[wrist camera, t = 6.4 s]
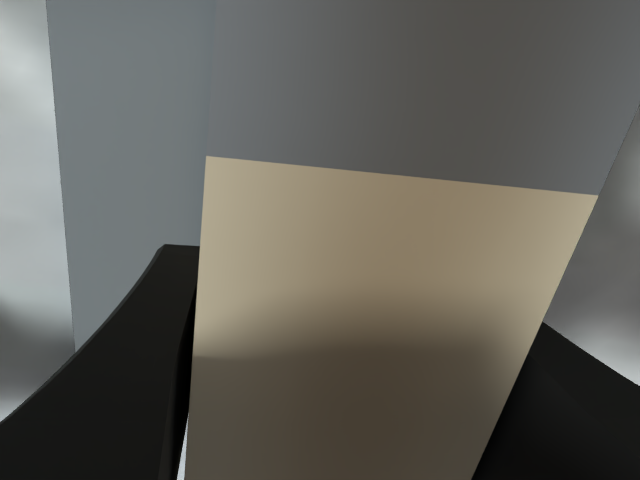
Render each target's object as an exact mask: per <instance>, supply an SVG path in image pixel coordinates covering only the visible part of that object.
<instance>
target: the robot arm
mask: <svg viewBox="0 0 640 480" xmlns="http://www.w3.org/2000/svg"><path fill="white" fill-rule="evenodd" d="M199 254H200V246H190V245H174V244H164V245H163V246H161V247H160V248H159V249H157V251H156V253H155V255H154V257H153V258H152V260H151V262H150V263H149V265H148V266H147V268H146V269H145V271H144V272H143V274H142V275H141V276H140V278H139V279H138V280H137V282H136V283H135V284H134V286H133V287H132V289H131V290H130V291H129V292H128V294H127V295H126V296H125V297H124V298H123V300H122V301H121V302H120V303H119V305H118V306H117V307H116V308H115V309H114V311H113V312H112V313H111V314H110V316H109V317H108V318H107V319H106V320H105V321H104V323H103V324H102V325H101V326H100V327H99V328H98V329H97V330H96V331H95V332H94V333H93V335H92V336H91V337H90V338H89V339H88V340H87V341H86V342H85V343H84V344H83V345H82V346H81V347H80V348H79V349H78V351H77V352H76V353H75V354H74V355H73V356H72V357H71V358H70V359H69V360H68V361H67V362H66V363H65V364H64V365H63V366H62V367H61V368H60V369H59V370H58V371H57V372H56V373H55V374H54V375H53V376H52V377H51V378H50V379H49V380H47V381H46V382H45V383H44V384H43V385H42V386H41V387H40V388H39V389H38V390H37V391H36V392H34V393H33V394H32V395H31V396H30V397H29V398H28V399H27V400H25V401H24V402H23V403H22V404H21V405H20V406H19V407H18V408H17V409H15V410H14V411H13V412H12V413H11V414H10V415H8V416H7V417H6V418H5V419H4V420H2V421H1V422H0V480H177V475H178V469H179V464H180V458H181V452H182V447H183V441H184V435H185V430H186V424H187V418H188V412H189V403H190V388H191V373H192V358H193V343H194V328H195V314H196V299H197V284H198V269H199ZM471 480H640V386H638V385H637V384H635V383H633V382H632V381H630V380H629V379H627V378H625V377H624V376H622V375H620V374H619V373H617V372H616V371H614V370H613V369H611V368H610V367H608V366H607V365H605V364H604V363H602V362H601V361H599V360H598V359H596V358H594V357H593V356H591V355H590V354H588V353H587V352H585V351H584V350H582V349H581V348H579V347H578V346H577V345H575V344H574V343H572V342H571V341H569V340H568V339H566V338H565V337H564V336H562V335H561V334H559V333H558V332H556V331H555V330H554V329H552V328H551V327H549V326H548V325H547V324H545V323H544V322H542V323H541V325H540V327H539V329H538V332H537V334H536V336H535V338H534V341H533V343H532V345H531V347H530V349H529V352H528V354H527V356H526V358H525V361H524V363H523V365H522V367H521V369H520V372H519V374H518V376H517V378H516V381H515V383H514V385H513V387H512V389H511V392H510V394H509V396H508V398H507V401H506V403H505V405H504V407H503V409H502V412H501V414H500V416H499V418H498V421H497V423H496V425H495V427H494V430H493V432H492V434H491V436H490V438H489V441H488V443H487V445H486V447H485V450H484V452H483V454H482V456H481V458H480V461H479V463H478V465H477V467H476V470H475V472H474V474H473V476H472V478H471Z"/></svg>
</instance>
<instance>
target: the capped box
mask: <svg viewBox="0 0 640 480" xmlns="http://www.w3.org/2000/svg"><path fill="white" fill-rule="evenodd" d="M639 105H640V0H217V2H216V17H215V32H214V46H213V61H212V76H211V91H210V106H209V121H208V135H207V150H206V165H205V180H204V195H203V210H202V225H201V239H200V254H199V269H198V284H197V299H196V314H195V328H194V343H193V358H192V373H191V388H190V403H189V418H188V432H187V447H186V462H185V477H184V480H471V478H472V476H473V474H474V472H475V470H476V467H477V465H478V463H479V461H480V458H481V456H482V454H483V452H484V450H485V447H486V445H487V443H488V441H489V438H490V436H491V434H492V432H493V430H494V427H495V425H496V423H497V421H498V418H499V416H500V414H501V412H502V409H503V407H504V405H505V403H506V401H507V398H508V396H509V394H510V392H511V389H512V387H513V385H514V383H515V381H516V378H517V376H518V374H519V372H520V369H521V367H522V365H523V363H524V361H525V358H526V356H527V354H528V352H529V349H530V347H531V345H532V343H533V341H534V338H535V336H536V334H537V332H538V329H539V327H540V325H541V323H542V321H543V318H544V316H545V314H546V312H547V309H548V307H549V305H550V303H551V301H552V298H553V296H554V294H555V292H556V289H557V287H558V285H559V283H560V281H561V278H562V276H563V274H564V272H565V269H566V267H567V265H568V263H569V261H570V258H571V256H572V254H573V252H574V249H575V247H576V245H577V243H578V241H579V238H580V236H581V234H582V232H583V229H584V227H585V225H586V223H587V221H588V218H589V216H590V214H591V212H592V209H593V207H594V205H595V203H596V201H597V198H598V196H599V194H600V192H601V189H602V187H603V185H604V183H605V181H606V178H607V176H608V174H609V172H610V169H611V167H612V165H613V163H614V161H615V158H616V156H617V154H618V152H619V149H620V147H621V145H622V143H623V141H624V138H625V136H626V134H627V132H628V129H629V127H630V125H631V123H632V121H633V118H634V116H635V114H636V112H637V109H638V107H639Z"/></svg>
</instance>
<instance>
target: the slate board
mask: <svg viewBox="0 0 640 480" xmlns="http://www.w3.org/2000/svg"><path fill="white" fill-rule="evenodd" d="M216 2H217V0H46V9H47V21H48V33H49V45H50V57H51V69H52V80H53V92H54V104H55V116H56V128H57V140H58V152H59V164H60V176H61V188H62V200H63V212H64V224H65V236H66V248H67V260H68V272H69V284H70V296H71V308H72V320H73V332H74V344H75V353H76V352H77V351H78V349H79V348H80V347H81V346H82V345H83V344H84V343H85V342H86V341H87V340H88V339H89V338H90V337H91V336H92V335H93V333H94V332H95V331H96V330H97V329H98V328H99V327H100V326H101V325H102V324H103V323H104V321H105V320H106V319H107V318H108V317H109V316H110V314H111V313H112V312H113V311H114V309H115V308H116V307H117V306H118V305H119V303H120V302H121V301H122V300H123V298H124V297H125V296H126V295H127V294H128V292H129V291H130V290H131V289H132V287H133V286H134V284H135V283H136V282H137V280H138V279H139V278H140V276H141V275H142V274H143V272H144V271H145V269H146V268H147V266H148V265H149V263H150V262H151V260H152V258H153V257H154V255H155V253H156V251H157V249H159V248H160V247H161V246H163V245H164V244H174V245H190V246H200V239H201V225H202V210H203V195H204V180H205V165H206V150H207V135H208V121H209V106H210V91H211V76H212V61H213V46H214V32H215V17H216ZM188 413H189V412H188Z"/></svg>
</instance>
